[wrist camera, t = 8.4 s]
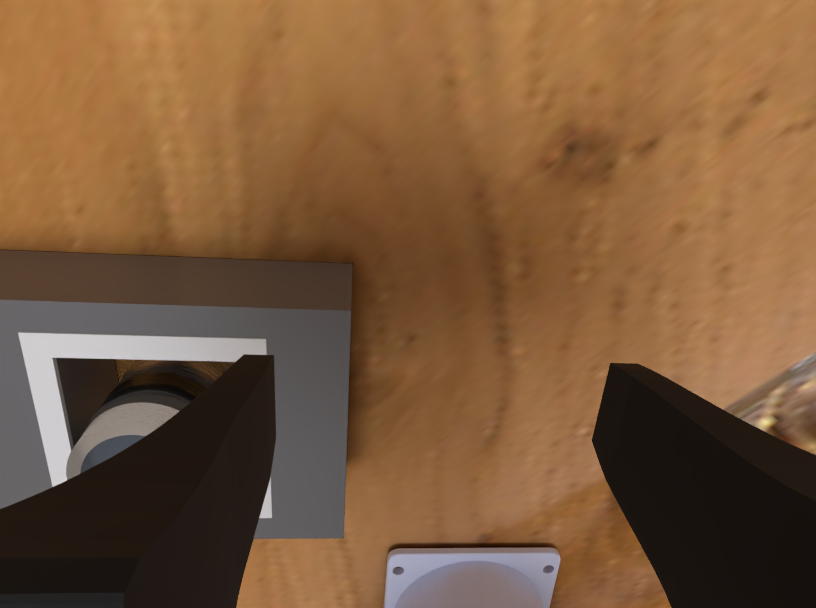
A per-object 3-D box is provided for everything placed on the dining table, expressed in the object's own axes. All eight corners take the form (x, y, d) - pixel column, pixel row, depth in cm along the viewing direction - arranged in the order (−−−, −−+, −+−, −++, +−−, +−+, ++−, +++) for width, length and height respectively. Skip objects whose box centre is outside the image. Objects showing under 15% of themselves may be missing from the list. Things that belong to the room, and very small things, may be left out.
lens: (245, 421, 24) (209, 539, 18) (138, 410, 23) (67, 528, 18) (252, 331, 22) (214, 430, 16) (137, 316, 21) (58, 415, 16)
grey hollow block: (346, 464, 25) (343, 539, 21) (45, 462, 24) (-13, 541, 20) (352, 263, 21) (351, 311, 17) (-3, 249, 20) (-85, 297, 16)
